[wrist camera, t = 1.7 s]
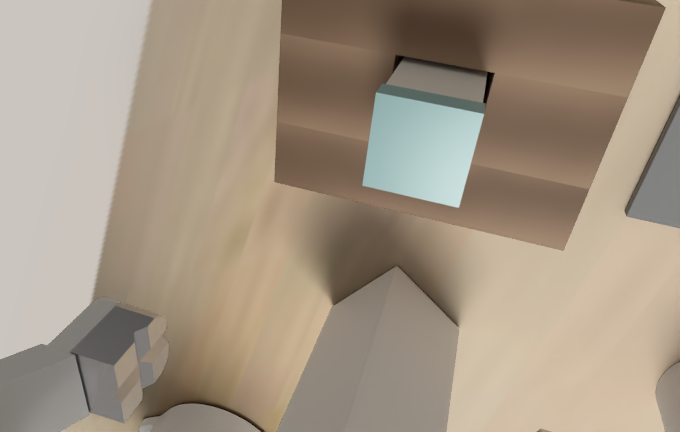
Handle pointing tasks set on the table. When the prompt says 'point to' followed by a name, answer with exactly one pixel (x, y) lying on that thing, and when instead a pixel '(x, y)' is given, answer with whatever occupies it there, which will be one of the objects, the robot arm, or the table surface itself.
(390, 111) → the plug
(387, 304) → the milk carton
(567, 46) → the block
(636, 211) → the mat
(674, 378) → the cup
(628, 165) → the table surface
